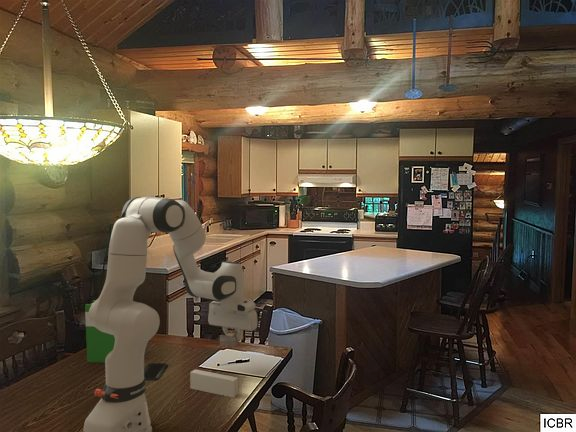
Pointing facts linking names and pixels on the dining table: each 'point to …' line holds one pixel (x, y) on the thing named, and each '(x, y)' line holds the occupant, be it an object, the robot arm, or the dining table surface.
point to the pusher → (230, 339)
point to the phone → (154, 371)
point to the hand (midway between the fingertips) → (232, 338)
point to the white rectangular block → (214, 383)
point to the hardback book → (97, 341)
